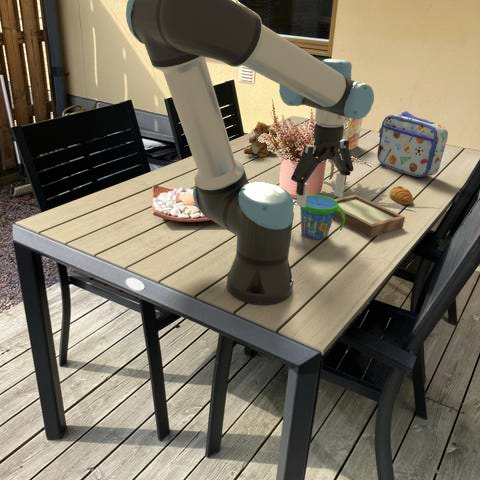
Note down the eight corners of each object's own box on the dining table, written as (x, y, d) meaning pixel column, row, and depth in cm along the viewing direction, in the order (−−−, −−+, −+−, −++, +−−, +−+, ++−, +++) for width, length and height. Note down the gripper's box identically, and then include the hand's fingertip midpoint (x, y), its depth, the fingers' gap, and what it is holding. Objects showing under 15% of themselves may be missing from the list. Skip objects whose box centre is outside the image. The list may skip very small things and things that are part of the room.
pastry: (417, 206, 165) (419, 195, 163) (398, 206, 164) (400, 195, 162) (404, 195, 173) (406, 185, 172) (386, 195, 172) (388, 185, 170)
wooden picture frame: (369, 237, 141) (372, 226, 139) (322, 212, 155) (323, 201, 154) (402, 227, 148) (404, 217, 146) (354, 204, 163) (355, 194, 161)
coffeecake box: (345, 153, 215) (352, 107, 206) (330, 150, 218) (337, 105, 209) (358, 146, 226) (365, 102, 218) (343, 143, 230) (350, 100, 221)
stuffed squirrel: (241, 152, 207) (243, 121, 202) (265, 147, 216) (267, 117, 210) (258, 159, 201) (261, 126, 195) (282, 153, 210) (285, 122, 204)
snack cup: (346, 235, 141) (352, 202, 137) (334, 249, 133) (339, 214, 129) (296, 221, 148) (300, 189, 143) (281, 234, 140) (284, 200, 135)
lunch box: (368, 162, 205) (378, 108, 196) (385, 159, 211) (395, 106, 201) (423, 183, 186) (437, 124, 176) (440, 179, 191) (455, 121, 181)
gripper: (301, 133, 117) (293, 214, 127) (374, 121, 130) (362, 197, 140) (281, 125, 123) (275, 204, 133) (353, 115, 136) (343, 188, 145)
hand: (319, 200), depth 136 cm, fingers open, 13 cm apart
